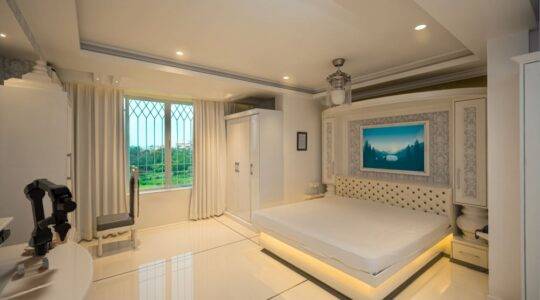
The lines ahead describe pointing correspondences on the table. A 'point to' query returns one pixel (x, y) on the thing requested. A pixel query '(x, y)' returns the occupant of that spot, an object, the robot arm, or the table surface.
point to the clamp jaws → (44, 263)
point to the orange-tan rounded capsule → (58, 241)
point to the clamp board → (33, 270)
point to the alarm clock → (31, 250)
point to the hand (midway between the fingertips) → (61, 240)
